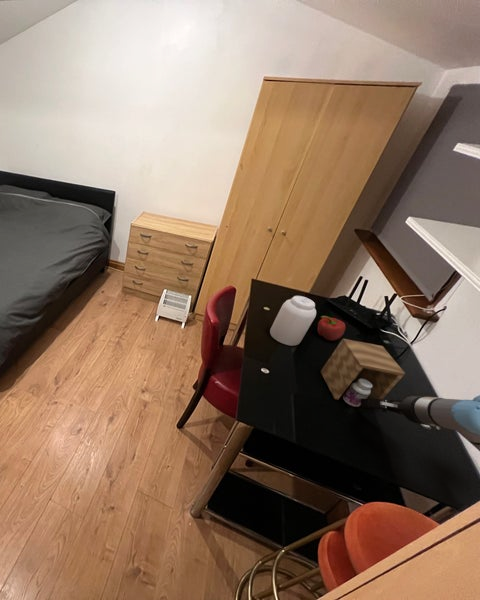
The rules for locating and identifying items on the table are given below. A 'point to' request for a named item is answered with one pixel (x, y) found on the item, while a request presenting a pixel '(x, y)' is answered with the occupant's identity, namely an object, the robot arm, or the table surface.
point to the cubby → (361, 368)
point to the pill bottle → (357, 392)
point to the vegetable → (330, 328)
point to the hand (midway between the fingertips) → (363, 402)
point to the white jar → (293, 320)
